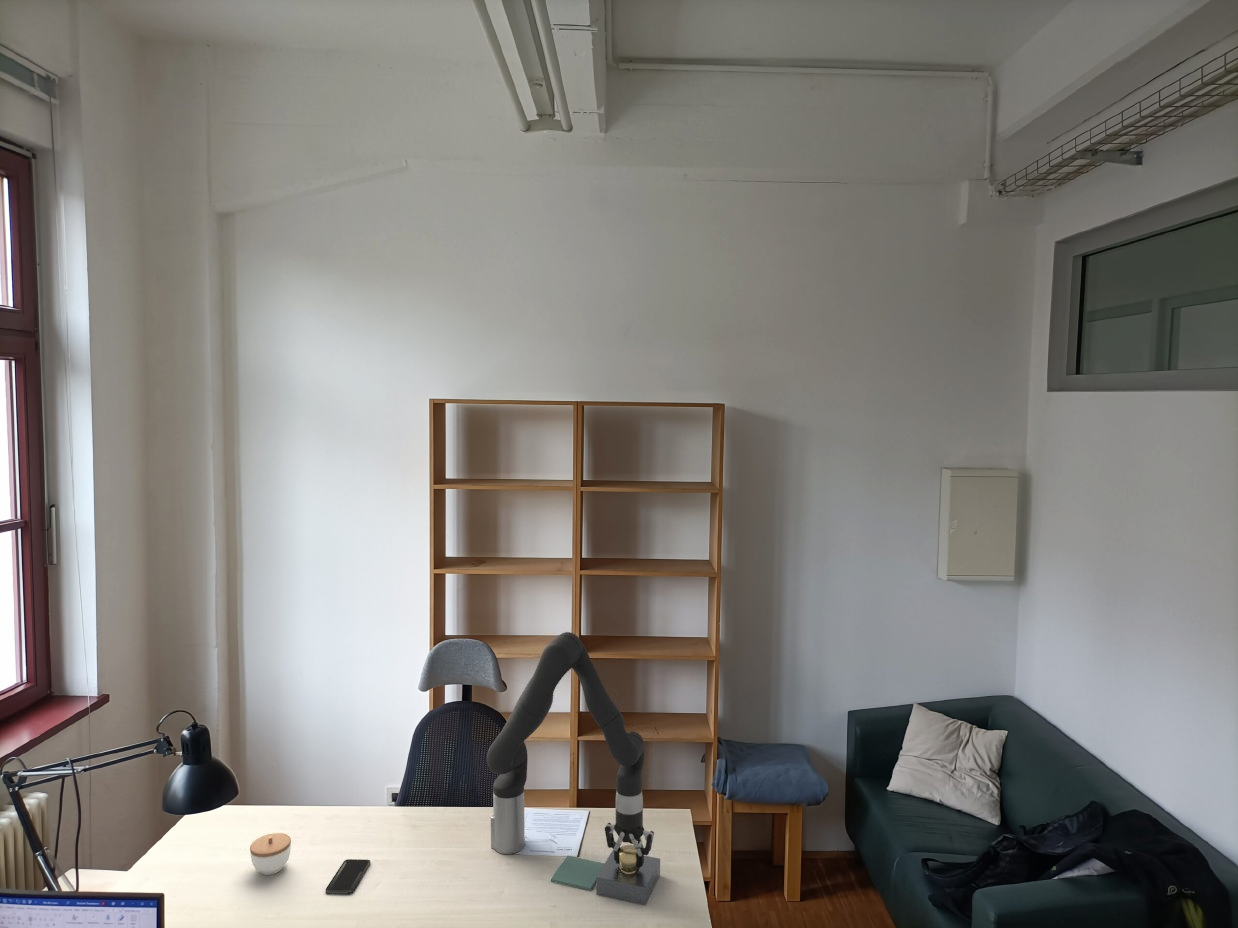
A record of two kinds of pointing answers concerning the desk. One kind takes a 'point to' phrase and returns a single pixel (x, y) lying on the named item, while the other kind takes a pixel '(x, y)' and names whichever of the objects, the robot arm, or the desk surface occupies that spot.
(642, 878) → the block
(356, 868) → the phone
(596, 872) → the mat
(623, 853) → the end cover
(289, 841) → the lidded jar
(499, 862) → the desk surface
